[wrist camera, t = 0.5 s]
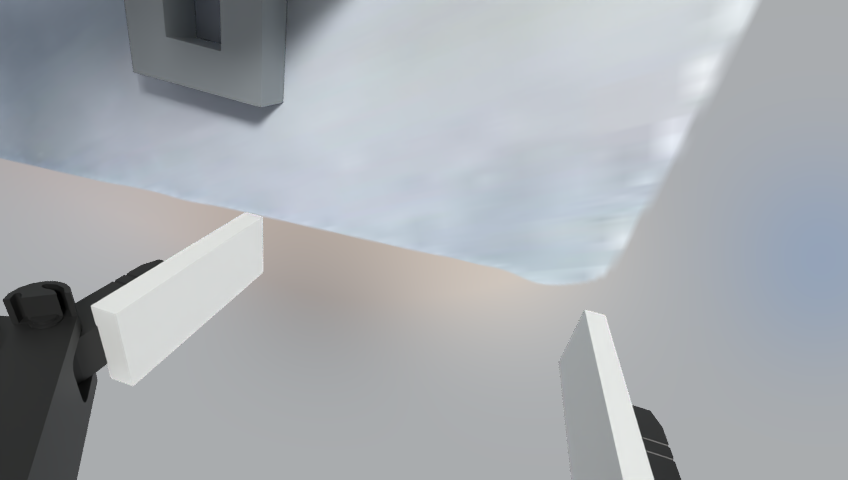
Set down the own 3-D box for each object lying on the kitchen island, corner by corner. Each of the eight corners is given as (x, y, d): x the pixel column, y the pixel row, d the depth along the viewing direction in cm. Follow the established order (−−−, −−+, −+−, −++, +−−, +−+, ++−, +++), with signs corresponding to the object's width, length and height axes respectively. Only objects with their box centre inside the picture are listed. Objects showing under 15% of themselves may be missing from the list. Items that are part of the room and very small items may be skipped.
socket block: (149, -91, 36) (110, -106, 33) (289, -59, 35) (263, -71, 31) (165, 70, 43) (133, 72, 39) (283, 102, 42) (261, 107, 38)
